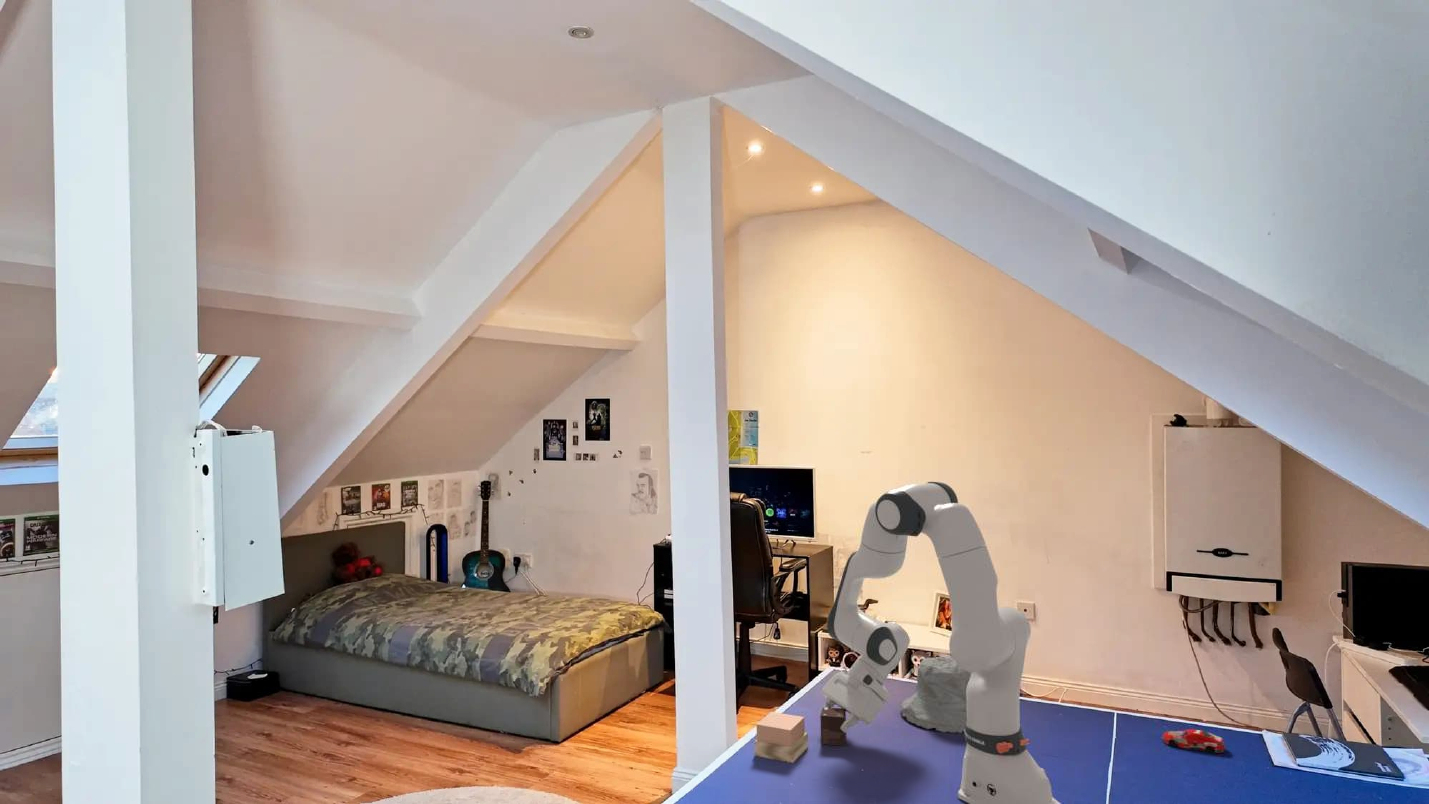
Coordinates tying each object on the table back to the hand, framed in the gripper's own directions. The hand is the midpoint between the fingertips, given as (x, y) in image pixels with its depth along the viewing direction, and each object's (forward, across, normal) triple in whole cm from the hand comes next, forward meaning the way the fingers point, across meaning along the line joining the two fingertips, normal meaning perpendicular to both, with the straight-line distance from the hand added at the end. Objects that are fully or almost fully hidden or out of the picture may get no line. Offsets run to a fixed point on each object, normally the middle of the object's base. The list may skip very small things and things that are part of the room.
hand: (832, 723), depth 211 cm
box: (+3, 0, +4) cm, 5 cm away
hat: (-22, -1, +29) cm, 37 cm away
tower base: (+14, 0, -7) cm, 15 cm away
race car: (-52, +40, +58) cm, 88 cm away
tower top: (+11, 0, -10) cm, 14 cm away
